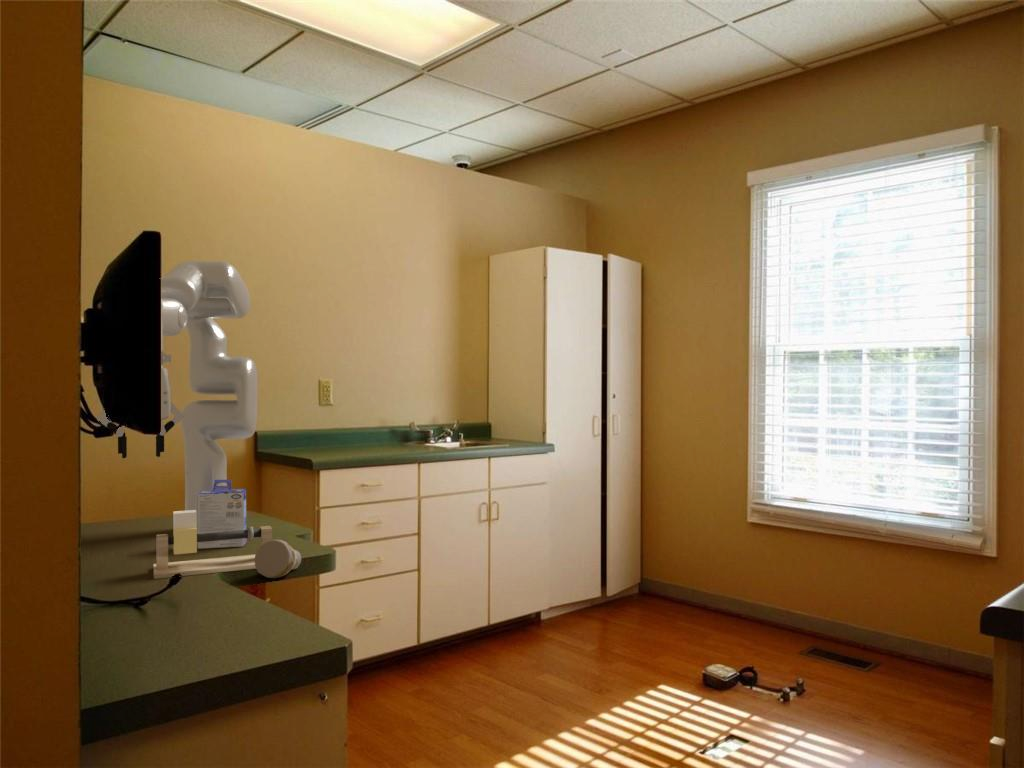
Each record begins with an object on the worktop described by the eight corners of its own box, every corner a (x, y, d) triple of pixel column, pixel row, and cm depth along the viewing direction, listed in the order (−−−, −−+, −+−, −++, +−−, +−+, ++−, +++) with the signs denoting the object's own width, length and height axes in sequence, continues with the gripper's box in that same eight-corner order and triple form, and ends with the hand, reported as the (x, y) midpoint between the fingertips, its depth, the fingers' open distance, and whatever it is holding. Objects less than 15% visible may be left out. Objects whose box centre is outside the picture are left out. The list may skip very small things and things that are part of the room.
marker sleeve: (173, 549, 149) (173, 510, 149) (195, 547, 151) (195, 509, 151) (174, 554, 145) (173, 514, 145) (196, 552, 147) (196, 512, 147)
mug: (312, 568, 151) (310, 529, 146) (283, 602, 143) (280, 562, 138) (279, 556, 153) (276, 518, 148) (248, 589, 145) (244, 549, 140)
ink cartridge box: (247, 542, 174) (246, 478, 174) (245, 547, 168) (245, 481, 168) (200, 544, 171) (200, 479, 171) (197, 549, 166) (196, 483, 166)
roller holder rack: (153, 568, 150) (153, 530, 150) (270, 556, 159) (270, 521, 159) (153, 579, 142) (153, 539, 142) (277, 566, 151) (276, 528, 151)
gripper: (189, 361, 152) (189, 453, 152) (90, 360, 144) (91, 457, 144) (191, 360, 145) (191, 456, 145) (87, 359, 137) (88, 461, 138)
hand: (141, 455), depth 145 cm, fingers open, 5 cm apart
